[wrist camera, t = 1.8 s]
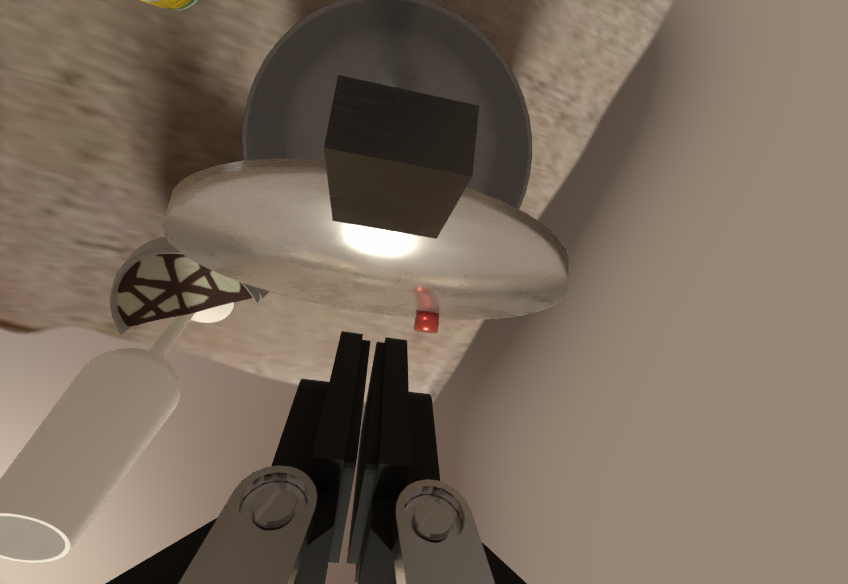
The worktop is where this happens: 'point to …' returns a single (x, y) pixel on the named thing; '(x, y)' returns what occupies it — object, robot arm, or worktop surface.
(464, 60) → the cooker pot
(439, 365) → the worktop surface
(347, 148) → the cooker lid
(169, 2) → the supplement bottle
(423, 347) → the worktop surface
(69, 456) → the champagne flute
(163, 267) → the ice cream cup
